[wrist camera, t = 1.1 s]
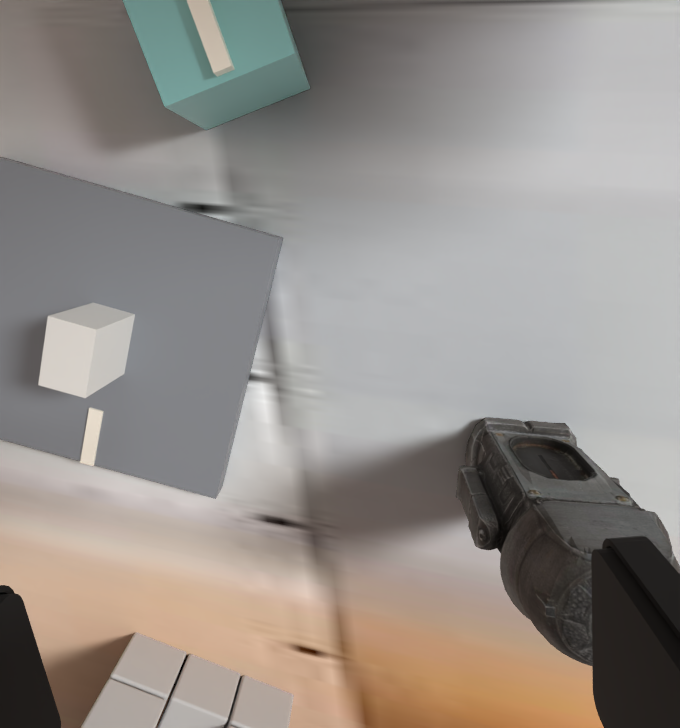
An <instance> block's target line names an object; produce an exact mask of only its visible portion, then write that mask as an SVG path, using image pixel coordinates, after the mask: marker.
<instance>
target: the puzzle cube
mask: <svg viewBox="0 0 680 728" xmlns="http://www.w3.org/2000/svg"><path fill="white" fill-rule="evenodd" d="M185 656H186V652H185V651H183V650H180V649H177V648H175V647H172V646H170V645H167V644H165V643H162V642H160V641H157V640H155V639H152V638H150V637H147V636H145V635H142V634H140V633H134V635H133V636H132V638H131V640H130V642H129V643H128V645H127V647H126V649H125V650H124V652H123V654H122V656H121V657H120V659H119V661H118V663H117V664H116V666H115V668H114V670H113V671H112V673H111V675H110V678H109V679H108V681H107V682H106V684H105V685H104V687H103V689H102V691H101V692H100V694H99V696H98V698H97V699H96V701H95V703H94V705H93V707H92V708H91V710H90V712H89V714H88V715H87V717H86V719H85V721H84V722H83V724H82V726H81V728H156V725H157V723H158V721H159V718H160V716H161V713H162V711H163V709H164V706H165V704H166V701H167V699H168V697H169V694H170V692H171V690H172V687H173V685H174V683H175V680H176V678H177V675H178V673H179V671H180V668H181V666H182V664H183V661H184V659H185ZM239 678H240V673H238V672H236V671H233V670H231V669H228V668H226V667H223V666H221V665H218V664H215V663H213V662H210V661H208V660H205V659H203V658H200V657H198V656H195V655H193V654H189V655H188V657H187V660H186V662H185V664H184V667H183V669H182V671H181V673H180V676H179V678H178V680H177V682H176V685H175V687H174V689H173V692H172V694H171V696H170V699H169V701H168V703H167V706H166V708H165V711H164V713H163V715H162V718H161V720H160V723H159V725H158V727H157V728H289V722H290V716H291V709H292V703H293V697H294V695H293V694H291V693H289V692H286V691H284V690H281V689H279V688H276V687H274V686H271V685H269V684H266V683H264V682H261V681H258V680H256V679H253V678H251V677H248V676H246V675H244V676H242V678H241V680H240V682H239ZM238 682H239V685H238ZM237 685H238V687H237Z"/></svg>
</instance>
